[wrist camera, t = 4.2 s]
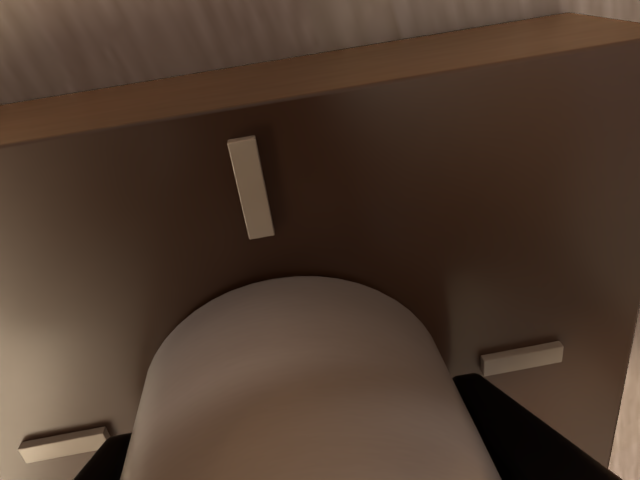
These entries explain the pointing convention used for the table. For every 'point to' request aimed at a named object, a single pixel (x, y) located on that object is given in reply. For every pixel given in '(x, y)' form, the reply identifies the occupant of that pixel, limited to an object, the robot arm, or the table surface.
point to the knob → (303, 392)
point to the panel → (330, 219)
